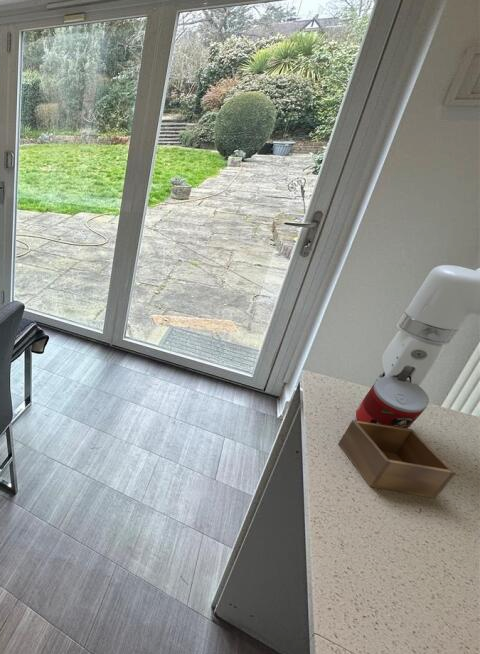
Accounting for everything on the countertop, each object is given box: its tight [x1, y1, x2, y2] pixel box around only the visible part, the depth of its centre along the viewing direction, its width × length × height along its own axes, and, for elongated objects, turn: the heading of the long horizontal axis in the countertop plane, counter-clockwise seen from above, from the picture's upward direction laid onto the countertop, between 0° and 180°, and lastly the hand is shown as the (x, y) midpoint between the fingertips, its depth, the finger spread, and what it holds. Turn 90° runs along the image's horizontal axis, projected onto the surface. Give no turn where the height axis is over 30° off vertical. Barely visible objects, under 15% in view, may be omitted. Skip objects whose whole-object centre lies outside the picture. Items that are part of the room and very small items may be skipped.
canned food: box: [355, 376, 430, 429], centre depth 82 cm, size 8×8×11 cm
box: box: [338, 420, 457, 499], centre depth 75 cm, size 10×10×6 cm
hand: (377, 398), depth 88 cm, fingers closed
